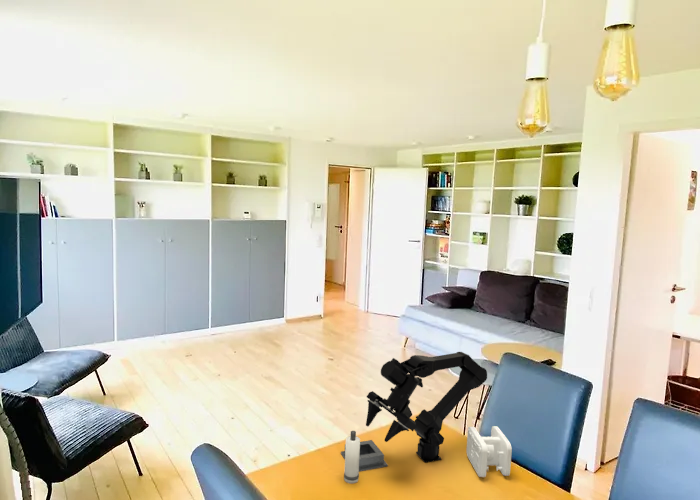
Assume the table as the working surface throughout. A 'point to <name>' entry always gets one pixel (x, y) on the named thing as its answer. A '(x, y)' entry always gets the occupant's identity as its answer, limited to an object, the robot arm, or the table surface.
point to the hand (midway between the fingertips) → (375, 433)
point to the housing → (369, 456)
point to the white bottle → (352, 458)
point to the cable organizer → (489, 451)
